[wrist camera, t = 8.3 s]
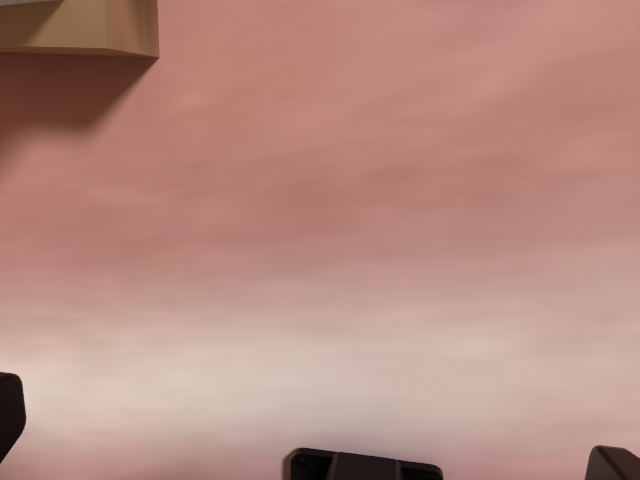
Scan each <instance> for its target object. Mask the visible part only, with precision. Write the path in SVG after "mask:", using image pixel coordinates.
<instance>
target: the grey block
mask: <svg viewBox="0 0 640 480" xmlns="http://www.w3.org/2000/svg"><path fill="white" fill-rule="evenodd" d="M42 1H53V0H0V6H2V5H12V4H22V3H32V2H42Z"/></svg>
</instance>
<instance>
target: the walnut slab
mask: <svg viewBox="0 0 640 480" xmlns="http://www.w3.org/2000/svg"><path fill="white" fill-rule="evenodd" d="M0 53H8V54H47V55H85V56H123V57H159V33H158V9H157V0H53V1H42V2H32V3H22V4H12V5H2V6H0Z"/></svg>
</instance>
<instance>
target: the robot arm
mask: <svg viewBox="0 0 640 480" xmlns="http://www.w3.org/2000/svg"><path fill="white" fill-rule="evenodd" d="M25 424H26V411H25V403H24V394H23V386H22V381H21V379H20V377H19V376H17V375H16V374H12V373H4V372H0V463H1V462H2V461H3V459H4V458H5V456H6V455H7V454H8V452H9V451H10V449H11V448H12V447H13V445H14V444H15V442H16V441H17V440H18V438H19V437H20V435H21V434H22V432H23V430H24V427H25ZM301 458H303V459H306V460H307V461H308V462H305V463H304V462H301V461H300V460H299V459H301ZM428 476H434V477H436V478H435V479H434V480H443V472H442V471H441V469H440V468H439V467H437V466H435V465H431V464H424V463H416V462H409V461H401V460H395V459H390V458H382V457H375V456H367V455H359V454H352V453H344V452H333V451H325V450H318V449H310V448H299V449H297V450H296V451H295V452H294V454H293V457H292V460H291V480H430V479H427V477H428ZM585 480H640V458H639V457H637V456H636V455H634V454H633V453H631V452H630V451H628V450H626V449H624V448H618V447H610V446H601V445H597V446H595V447H594V448H593V449H592V451H591V453H590V456H589V461H588V466H587V471H586V476H585Z"/></svg>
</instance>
